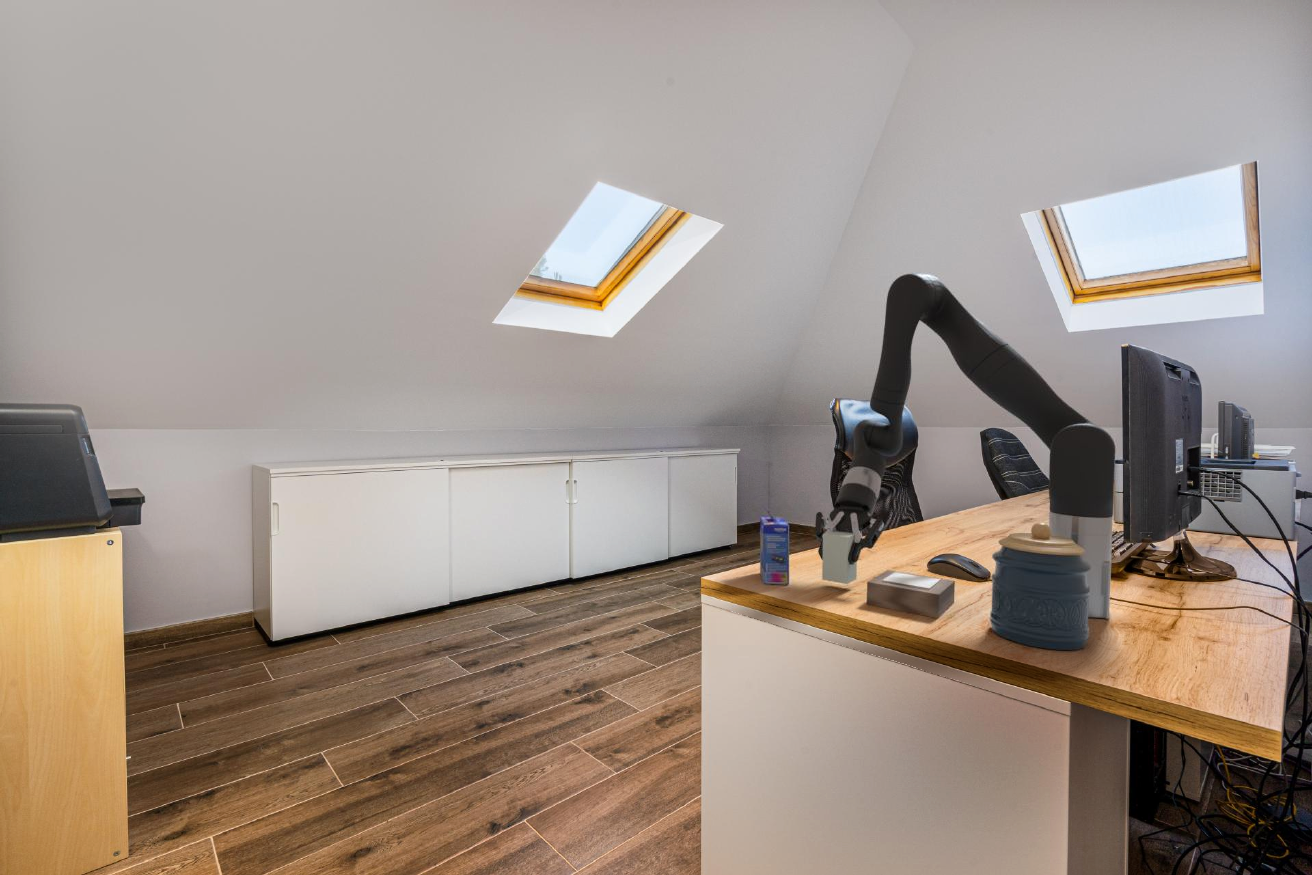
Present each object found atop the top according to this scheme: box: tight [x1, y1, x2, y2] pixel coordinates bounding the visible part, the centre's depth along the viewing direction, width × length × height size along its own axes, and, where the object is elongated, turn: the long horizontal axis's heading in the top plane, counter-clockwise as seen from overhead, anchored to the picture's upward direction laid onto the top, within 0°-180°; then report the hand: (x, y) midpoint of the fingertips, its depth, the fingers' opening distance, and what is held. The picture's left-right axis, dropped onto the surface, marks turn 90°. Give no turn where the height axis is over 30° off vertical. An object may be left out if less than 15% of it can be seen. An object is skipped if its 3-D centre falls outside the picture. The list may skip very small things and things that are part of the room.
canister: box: [989, 522, 1092, 651], centre depth 93 cm, size 13×13×18 cm
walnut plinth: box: [866, 569, 956, 619], centre depth 109 cm, size 12×12×4 cm
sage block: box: [821, 531, 858, 585], centre depth 119 cm, size 5×5×9 cm
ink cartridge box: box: [759, 507, 790, 586], centre depth 125 cm, size 10×6×14 cm, turn 174°
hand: (836, 559), depth 117 cm, fingers closed on sage block, 5 cm apart
